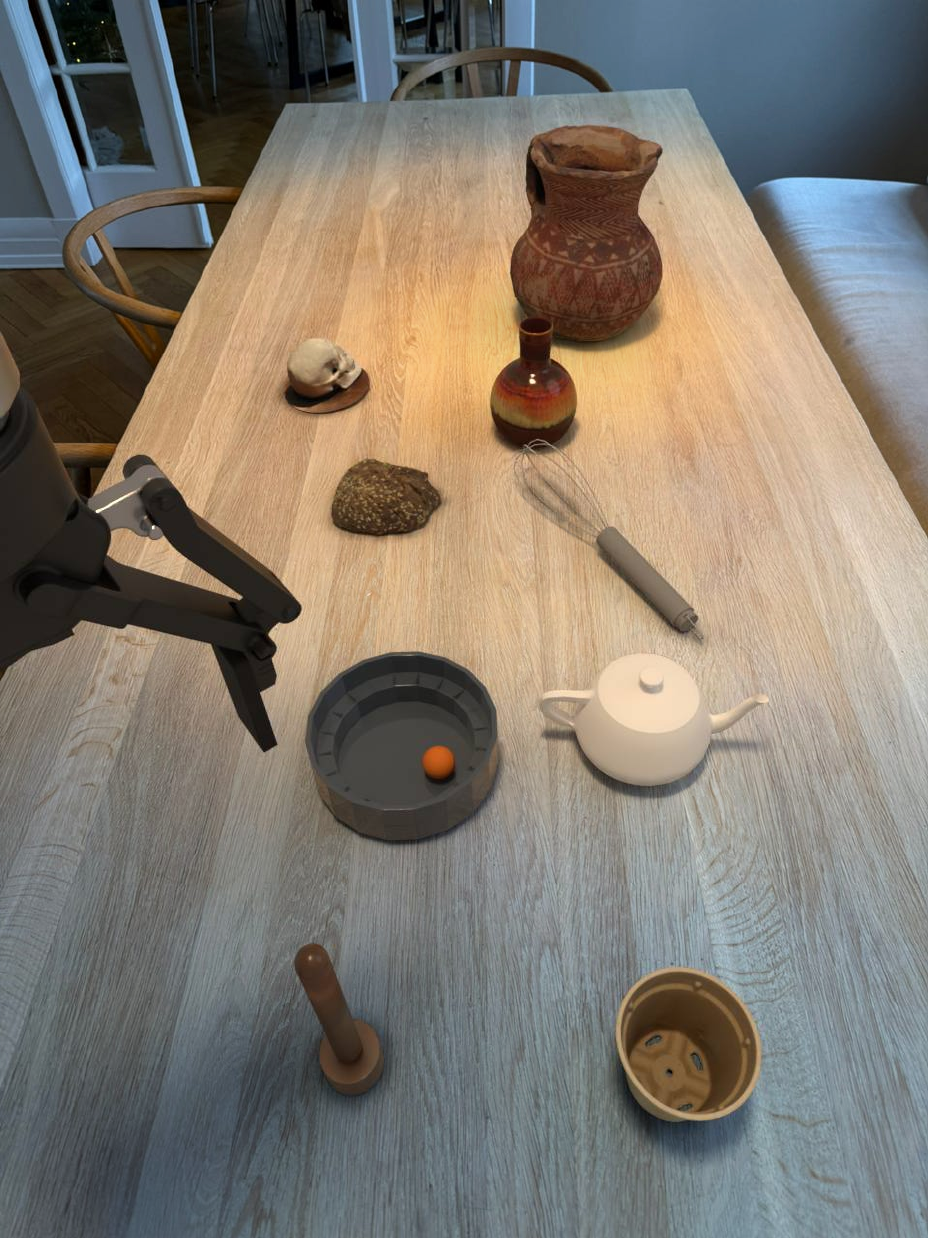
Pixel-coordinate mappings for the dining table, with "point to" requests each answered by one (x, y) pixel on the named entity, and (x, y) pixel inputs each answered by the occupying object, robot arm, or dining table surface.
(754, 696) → the teapot
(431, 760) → the bead
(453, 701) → the bowl
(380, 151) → the dining table surface
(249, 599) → the robot arm
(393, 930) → the dining table surface
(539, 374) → the vase
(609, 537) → the kitchen whisk
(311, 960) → the wooden pestle
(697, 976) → the flower pot
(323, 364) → the skull
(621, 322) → the jug
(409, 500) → the bread roll
